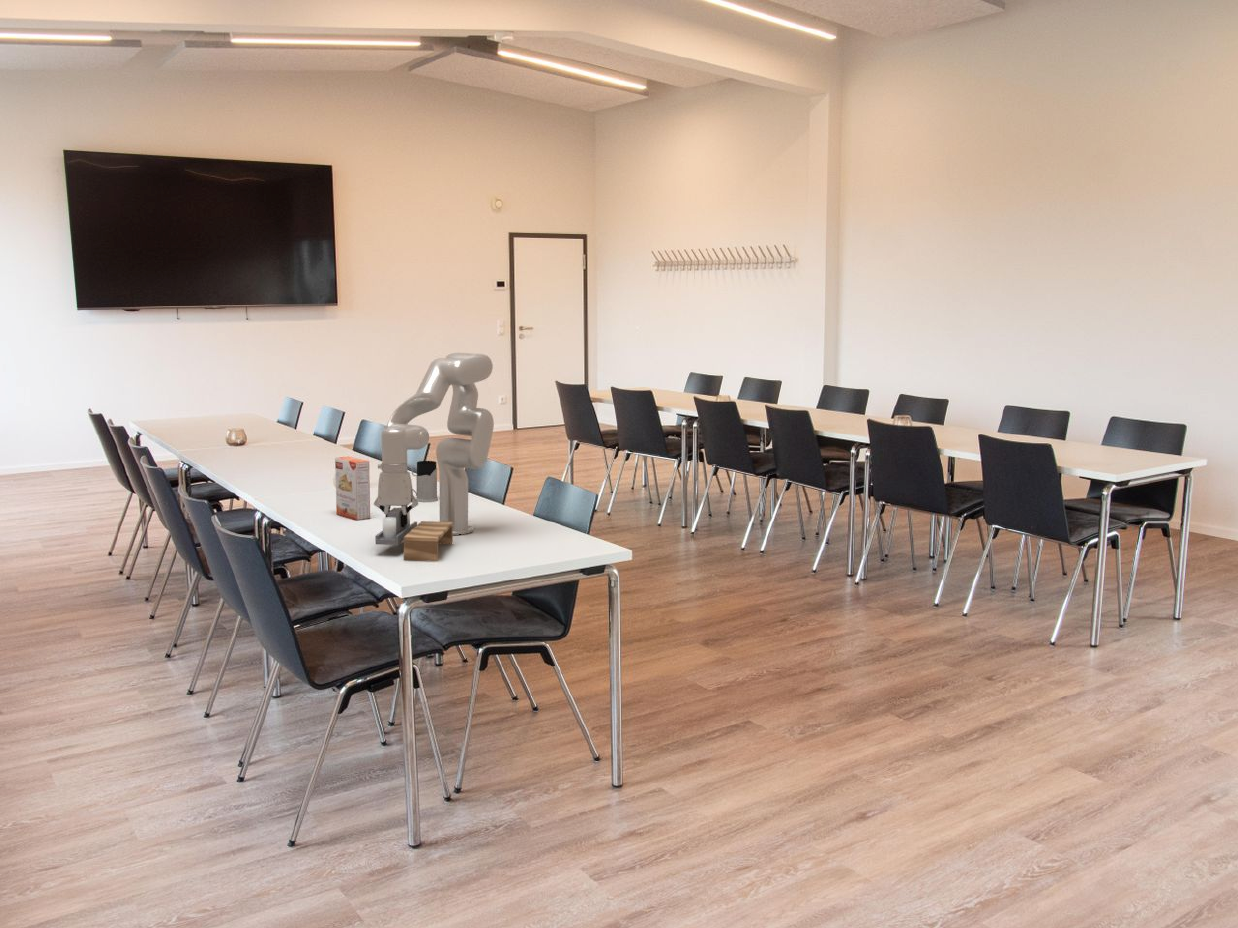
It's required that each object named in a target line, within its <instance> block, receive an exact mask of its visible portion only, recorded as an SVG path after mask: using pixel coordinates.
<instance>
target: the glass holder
mask: <svg viewBox="0 0 1238 928" xmlns="http://www.w3.org/2000/svg"><path fill="white" fill-rule="evenodd" d="M407 467H408V468H410V469H411V475H412V476H413V477H416V478H415V479H416V490H415V489H413V488H412V489H413V493H414V494H415V496H416V497H415V499H416V500H417V502H418V503H435V502H438V501H439V499H438V467H437V461H434V460H433V461H432V460H419V461H416V475H415V474H414V468H413V467H412V465H409V464H407Z"/></svg>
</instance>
